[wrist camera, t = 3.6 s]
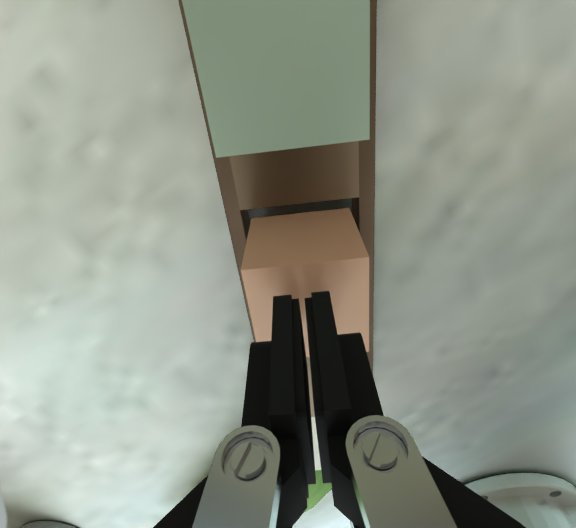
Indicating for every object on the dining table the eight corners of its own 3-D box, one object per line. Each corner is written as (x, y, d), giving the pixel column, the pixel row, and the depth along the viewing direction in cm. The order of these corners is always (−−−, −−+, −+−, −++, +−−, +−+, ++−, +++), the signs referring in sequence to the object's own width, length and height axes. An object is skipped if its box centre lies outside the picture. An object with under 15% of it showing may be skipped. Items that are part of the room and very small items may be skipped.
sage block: (342, -30, 10) (369, -69, 7) (347, 114, 13) (369, 139, 9) (209, -10, 11) (173, -39, 7) (235, 128, 13) (216, 157, 9)
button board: (363, -82, 11) (377, -106, 10) (365, 384, 23) (372, 411, 21) (180, -54, 12) (162, -72, 10) (272, 391, 23) (271, 419, 21)
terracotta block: (349, 207, 14) (369, 257, 11) (351, 288, 16) (368, 351, 13) (251, 218, 15) (240, 270, 11) (265, 296, 17) (260, 360, 13)
